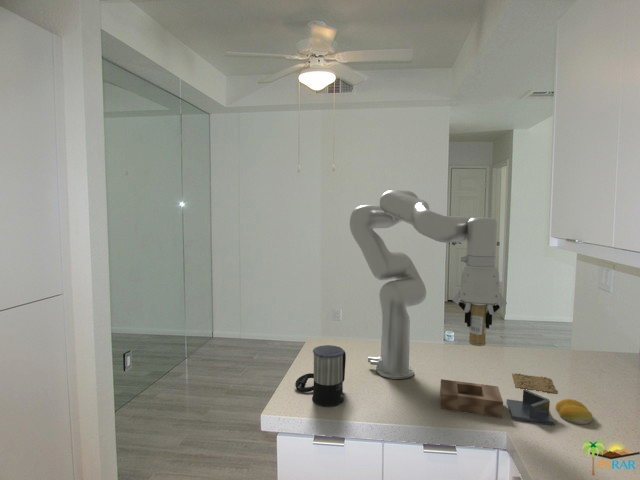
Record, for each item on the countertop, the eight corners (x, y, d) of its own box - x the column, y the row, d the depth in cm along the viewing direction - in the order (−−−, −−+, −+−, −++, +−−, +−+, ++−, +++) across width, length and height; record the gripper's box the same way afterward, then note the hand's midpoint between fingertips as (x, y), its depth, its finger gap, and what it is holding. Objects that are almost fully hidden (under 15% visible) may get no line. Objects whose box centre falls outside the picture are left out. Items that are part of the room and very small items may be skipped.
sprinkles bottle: (489, 344, 114) (491, 297, 113) (478, 347, 112) (480, 299, 110) (475, 340, 118) (476, 294, 117) (464, 342, 115) (466, 296, 114)
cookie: (511, 374, 140) (511, 371, 140) (551, 380, 135) (551, 377, 135) (514, 388, 128) (514, 385, 128) (558, 395, 124) (558, 392, 124)
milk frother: (340, 409, 113) (341, 357, 112) (286, 403, 117) (286, 352, 115) (347, 387, 127) (348, 340, 126) (298, 382, 130) (299, 337, 129)
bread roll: (562, 423, 108) (563, 409, 107) (552, 407, 116) (553, 393, 116) (598, 427, 106) (599, 413, 105) (584, 411, 114) (585, 397, 114)
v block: (512, 420, 109) (513, 403, 108) (506, 401, 119) (507, 387, 118) (554, 426, 106) (555, 409, 106) (544, 407, 116) (545, 391, 116)
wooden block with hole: (440, 409, 114) (441, 393, 114) (440, 393, 124) (440, 379, 123) (502, 418, 110) (503, 401, 109) (497, 401, 119) (497, 386, 119)
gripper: (448, 262, 112) (446, 327, 113) (516, 265, 107) (512, 333, 108) (448, 258, 119) (446, 320, 120) (511, 261, 114) (508, 325, 115)
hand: (477, 325), depth 114 cm, fingers closed on sprinkles bottle, 4 cm apart
